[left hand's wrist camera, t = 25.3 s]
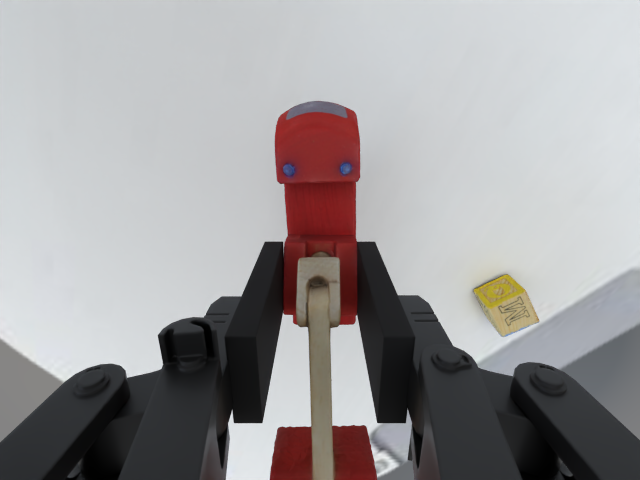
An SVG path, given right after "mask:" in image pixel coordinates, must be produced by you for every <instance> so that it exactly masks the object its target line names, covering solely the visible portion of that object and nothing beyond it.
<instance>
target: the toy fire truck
mask: <svg viewBox="0 0 640 480" xmlns="http://www.w3.org/2000/svg"><path fill="white" fill-rule="evenodd" d="M275 158H276V173H277V181H278V182H279V183H280V184H284V186H285V204H286V216H287V229H288V236H287V238H286V241H285V244H284V274H283V276H284V280H283V283H284V286H283V313H284V314H285V315H293V323H294V324H296V325H298V326H299V327H308V331H309V360H310V391H311V427H287V428H285V427H279V428H278V430H277V435H276V440H275V446H274V453H273V458H272V466H271V473H270V480H377V474H376V469H375V465H374V459H373V455H372V450H371V445H370V441H369V436H368V432H367V428H366V426H364V425H362V426H355V425H352V426H341V427H338V426H332V396H331V381H332V380H331V354H330V328H333V327H338V326H339V325H349V324H354V323H355V321H356V315H357V240H356V200H355V199H356V182H357V181H358V180H359V178H360V138H359V130H358V123H357V116H356V114H355V112H354V111H352V110H350V109H348V108H346V107H343V106H341V105H339V104H335V103H331V102H323V101H313V102H307V103H303V104H300V105H297V106H294V107H293V108H291V109H289V110H288V111H286V112H285V113H283V114H282V115H281V116H280V117H279V118H278V121H277V125H276V133H275Z"/></svg>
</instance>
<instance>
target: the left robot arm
mask: <svg viewBox="0 0 640 480" xmlns="http://www.w3.org/2000/svg"><path fill="white" fill-rule="evenodd" d="M283 274H284V252H283V242H265V243H264V245H263V248H262V250H261V252H260V255H259V257H258V259H257V262H256V264H255V266H254V269H253V271H252V273H251V276H250V278H249V280H248V283H247V285H246V287H245V290H244V292H243V294H242V297H221V298H219V299H218V300H216V301H215V302H214V303H212V304H211V306H210V307H209V309H208V311H207V313H206V315H205V316H204V318H200V317H192V318H186V319H181V320H179V321H176V322H174V323H171V324H170V325H168V326H167V327H165V328H164V329H163V330H162V331H161V332H160V333H159V335H158V339H159V344H160V349H161V354H162V360H163V367H162V369H161V370H158V371H155V372H151V373H147V374H143V375H138V376H134V377H129V378H127V376H126V371H125V370H124V369H123V368H122V367H121V366H119V365H115V364H101V365H97V366H94V367H90V368H87V369H85V370H83V371H81V372H79V373H77V374H75V375H74V376H72V377H71V378H70V379H68V380H67V381H65V382H64V383H63V384H62V385H61V386H60V387H59V388H58V389H57V390H56V391H55V392H54V393H53V394H52V395H50V396H49V397H48V398H47V399H46V400H45V401H44V402H43V403H42V404H41V405H40V406H39V407H38V408H37V409H35V410H34V411H33V412H32V413H31V414H30V415H29V416H28V417H27V418H26V419H25V420H24V421H23V422H22V423H21V424H20V425H18V426H17V427H16V428H15V429H14V430H13V431H12V432H11V433H10V434H9V435H8V436H7V437H6V438H5V439H4V440H2V441H1V442H0V480H226V470H227V460H228V450H229V440H230V437H229V429H228V422H229V418H230V415H231V412H232V410H233V419H234V423H262V422H263V417H264V412H265V406H266V401H267V395H268V390H269V385H270V379H271V374H272V368H273V363H274V358H275V352H276V347H277V341H278V336H279V331H280V325H281V320H282V314H283V286H284V283H283V280H284V276H283ZM357 316H358V321H359V326H360V332H361V337H362V343H363V348H364V353H365V359H366V364H367V370H368V375H369V380H370V386H371V391H372V397H373V402H374V407H375V413H376V418H377V423H406V417H407V408H408V411H409V414H410V417H411V421H412V429H411V437H410V445H409V453H408V460H411V461H412V460H413V470H414V480H640V440H639V439H638V438H637V437H636V436H635V435H633V434H632V433H631V432H630V431H629V430H628V429H627V428H626V427H625V426H624V425H623V424H622V423H621V422H620V421H618V420H617V419H616V418H615V417H614V416H613V415H612V414H611V413H610V412H609V411H608V410H607V409H606V408H604V407H603V406H602V405H601V404H600V403H599V402H598V401H597V400H596V399H595V398H594V397H593V396H592V395H591V394H589V393H588V392H587V391H586V390H585V389H584V388H583V387H582V386H581V385H580V384H579V383H578V382H577V381H575V380H574V379H573V378H571V377H570V376H569V375H567V374H566V373H565V372H563V371H560V370H558V369H556V368H554V367H552V366H549V365H545V364H541V363H532V362H527V363H523V364H519V365H518V366H517V367H516V368H515V370H514V374H513V376H508V375H504V374H499V373H494V372H490V371H487V370H483V369H480V368H478V366H477V364H476V362H475V361H474V359H473V358H472V357H471V356H470V355H469V354H467V353H466V352H465V351H463V350H461V349H458V348H456V347H454V346H453V345H452V343H451V341H450V340H449V338H448V336H447V334H446V333H445V331H444V329H443V327H442V326H441V324H440V322H438V319H437V317H436V315H435V314H434V312H433V310H432V308H431V307H430V305H429V303H428V302H426V301H425V300H424V299H422V298H421V297H419V296H418V295H397V293H396V290H395V288H394V286H393V283H392V281H391V279H390V276H389V274H388V272H387V269H386V267H385V265H384V262H383V260H382V258H381V255H380V253H379V251H378V248H377V246H376V243H375V242H357ZM564 464H565V465H566V466H565V465H564Z"/></svg>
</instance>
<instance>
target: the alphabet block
mask: <svg viewBox="0 0 640 480" xmlns="http://www.w3.org/2000/svg"><path fill="white" fill-rule="evenodd" d="M474 293H475V295H476V297H477V299H478V301H479V303H480V305H481V306H482V309H483V311H484V313H485V315H486V317H487V318H488V320H489V321H490V322H491V324H492V325H493V326H494V328H495V329H496V330H497V332H498V333H499V334H500V335H501V336H502V337H505V336H508V335H510V334H513V333H515V332H517V331H520V330H522V329H524V328H527V327H529V326H531V325H533V324H536V323H538V322H539V319H538V317H537V315H536V312H535V310H534V308H533V306H532V303H531V301H530V299H529V297H528V295H527V292H526V290H525V289H523V288H522V287H521V286H520V285H519V284H518V283H517V282H516V281H515V280H514V279H513V278H511V277H510V276H509V275H508V274H507V275H504V276H501V277H499V278H497V279H495V280H493V281H491V282H489V283H487V284H484V285H483V286H481V287H478V288H476V289H474Z"/></svg>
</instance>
